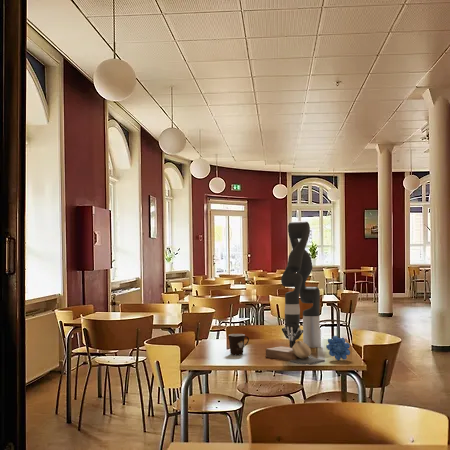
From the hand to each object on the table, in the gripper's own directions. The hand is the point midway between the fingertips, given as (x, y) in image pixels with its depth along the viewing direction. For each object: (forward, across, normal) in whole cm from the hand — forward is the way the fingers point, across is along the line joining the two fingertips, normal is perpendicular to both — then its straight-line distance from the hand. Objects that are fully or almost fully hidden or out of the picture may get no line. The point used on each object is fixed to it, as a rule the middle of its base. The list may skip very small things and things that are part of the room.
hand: (292, 347), depth 315 cm
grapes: (+6, -19, -12) cm, 23 cm away
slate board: (+5, -11, +1) cm, 12 cm away
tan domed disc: (+1, -5, 0) cm, 5 cm away
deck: (+5, +4, 0) cm, 7 cm away
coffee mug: (+6, +28, +10) cm, 30 cm away
